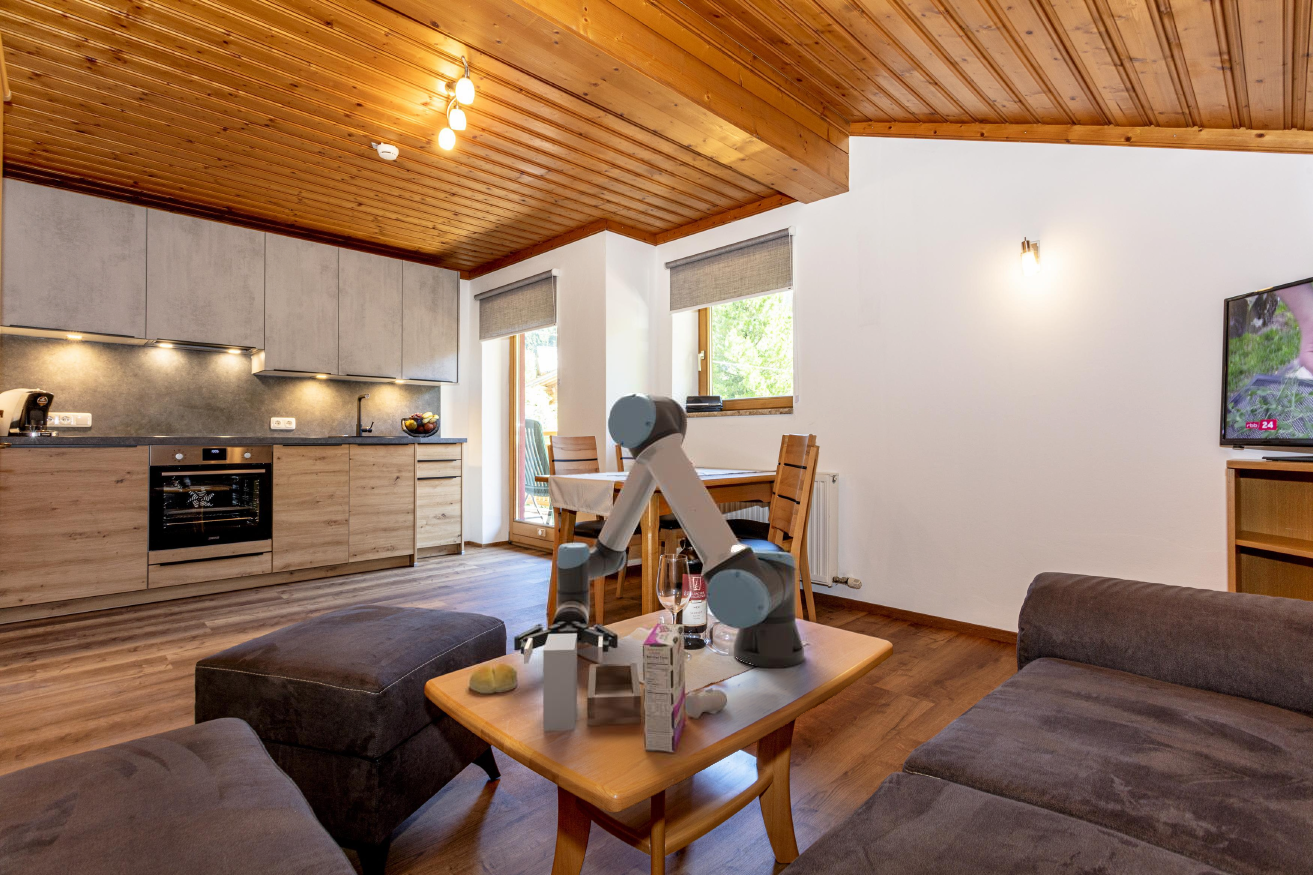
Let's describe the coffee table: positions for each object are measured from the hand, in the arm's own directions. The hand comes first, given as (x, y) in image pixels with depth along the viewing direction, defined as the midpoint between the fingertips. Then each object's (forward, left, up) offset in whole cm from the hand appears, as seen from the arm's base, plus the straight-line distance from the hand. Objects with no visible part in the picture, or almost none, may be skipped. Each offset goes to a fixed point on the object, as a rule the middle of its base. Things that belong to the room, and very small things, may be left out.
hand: (563, 655), depth 117 cm
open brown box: (-9, +5, -7) cm, 13 cm away
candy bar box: (-17, +18, -8) cm, 26 cm away
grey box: (0, +10, -7) cm, 12 cm away
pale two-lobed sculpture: (-25, +9, -8) cm, 28 cm away
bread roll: (+14, -6, -8) cm, 17 cm away
